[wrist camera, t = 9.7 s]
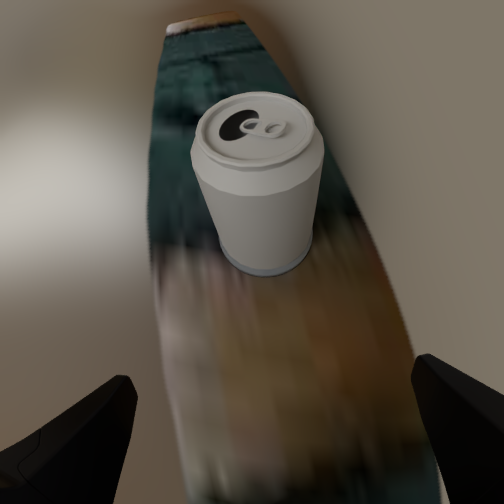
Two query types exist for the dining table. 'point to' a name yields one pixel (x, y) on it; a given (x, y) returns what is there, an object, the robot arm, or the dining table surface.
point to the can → (260, 175)
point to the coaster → (268, 272)
